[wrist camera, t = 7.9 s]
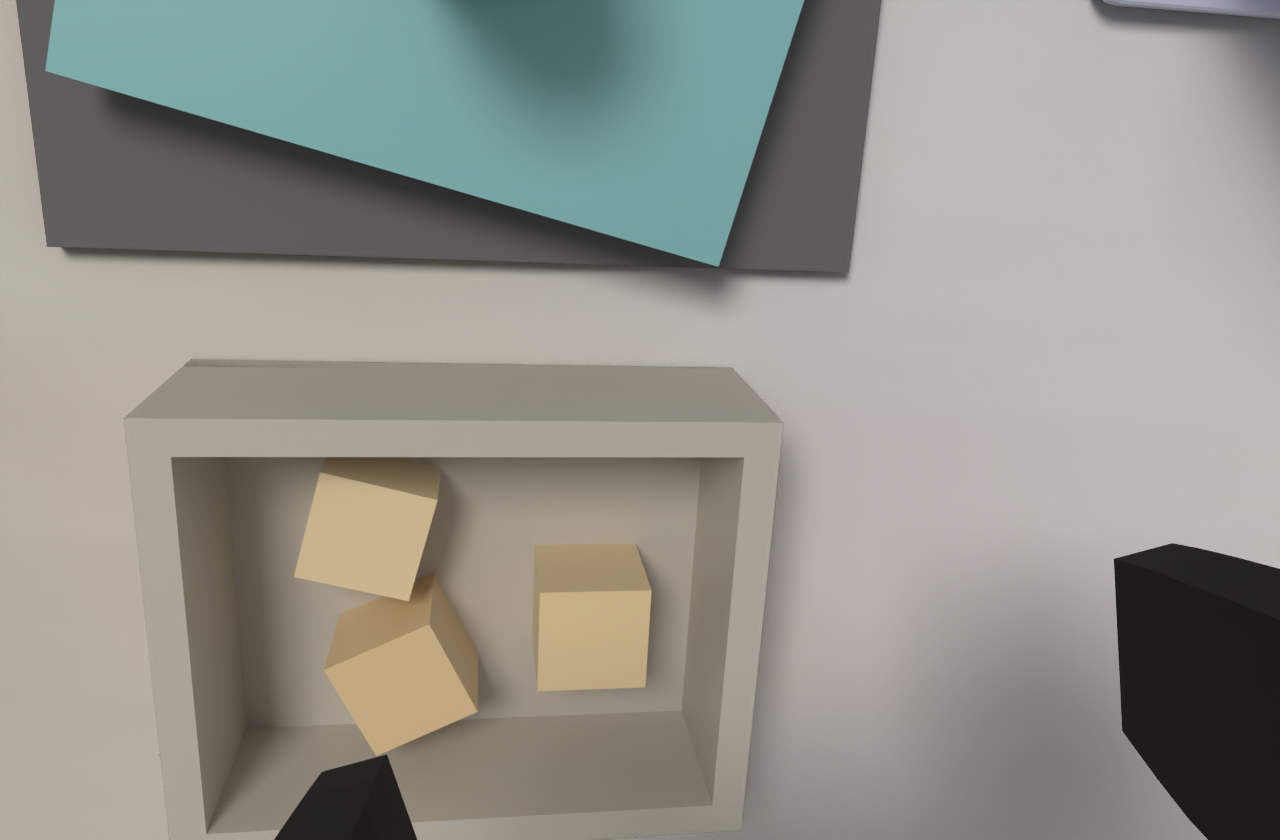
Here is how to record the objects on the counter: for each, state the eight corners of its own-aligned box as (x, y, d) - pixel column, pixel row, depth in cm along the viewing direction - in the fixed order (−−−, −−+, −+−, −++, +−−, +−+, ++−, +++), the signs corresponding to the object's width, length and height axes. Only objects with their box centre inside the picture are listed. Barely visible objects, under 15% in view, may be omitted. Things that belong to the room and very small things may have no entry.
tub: (732, 367, 19) (782, 423, 16) (702, 719, 22) (741, 830, 18) (190, 359, 18) (123, 417, 14) (223, 739, 20) (172, 865, 17)
